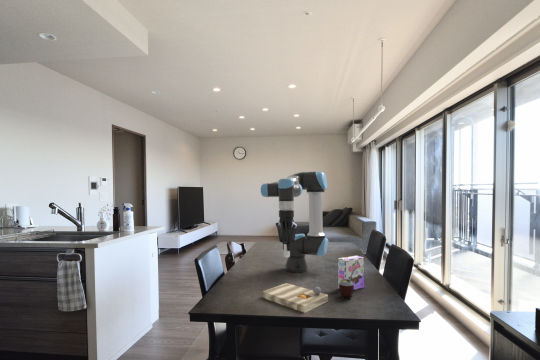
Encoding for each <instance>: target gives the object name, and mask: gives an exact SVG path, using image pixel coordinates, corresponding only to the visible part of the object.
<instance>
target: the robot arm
mask: <svg viewBox="0 0 540 360" xmlns="http://www.w3.org/2000/svg"><path fill="white" fill-rule="evenodd" d="M327 189H328V180H327V175H326V173H325V172H323V171H306V172H304V171H303V172H302V171H300V172H297V173H294V174H291V175H288V176H287V177H286V178H280V179H279V180H278V181H274V182H270V183H262V185H261V186H260V194H261V196H262V197H264V198H278V209H279V210H278V217H279V220H278V221H277V222H276V223H275V226H276V229H277V234H278V239H279V243H281V244H282V250H283V258H286V263H285V266H284V270H285V271H286V272H290V273H304V272H307V271H308V270H309V266H308V263H307V260H306V255H307V256H315V257H316V256H317V257H323V256H325V255H326V254H327V251H328V246H329V239H328V237H326V233H324V231H323V229H324V227H323V225H324V224H323V222H324V221H323V195H324V194H325V191H326V190H327ZM304 190H305V191H306V194H307V195H308V218H309V219H308V220H309V223H308V224H309V225H308V226H309V227H308V230H309V231H308V233H307V234H306V235H305V233H297V228H298V226H299V225H298V224H297V223H295V220H294V217H295V210H294V209H295V201H294V200H295V199H294V198H297V197H300V196H301V195H302V193H303V191H304Z"/></svg>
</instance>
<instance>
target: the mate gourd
mask: <svg viewBox="0 0 540 360" xmlns="http://www.w3.org/2000/svg"><path fill="white" fill-rule="evenodd" d="M356 269H357V268H356ZM356 269H354V270H353V271H352V274H351V277H352V275H353V273H354V271H355V270H356ZM351 277H350V279H349V280H348V279H343V280H341V281H340V283H339V292H340V298H341V299H348V300H349V301H350V300H352V298H351V297H353V293H354V291H355V290H354V285H353V282H352V281H351Z"/></svg>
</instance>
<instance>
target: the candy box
mask: <svg viewBox="0 0 540 360" xmlns="http://www.w3.org/2000/svg"><path fill="white" fill-rule="evenodd" d="M356 268H357V269H356ZM354 269H356V270H355V271H354V273H353V275H352V277H351V274H352V271H353V270H354ZM350 277H351V281H352V282H353V285H354V290H353V291H355V290H356V291H357V290H361V289H365V257H363V256H359V255H352V256H345V257H338V258H337V289H339V283H340V281H341V280H343V279H348V280H349V279H350Z"/></svg>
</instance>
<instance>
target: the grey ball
mask: <svg viewBox="0 0 540 360" xmlns="http://www.w3.org/2000/svg"><path fill="white" fill-rule="evenodd" d="M312 290H313V291H314V293H315V294H316V295H319V294H320V293H322V288H320V286H314V288H313V289H312Z"/></svg>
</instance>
